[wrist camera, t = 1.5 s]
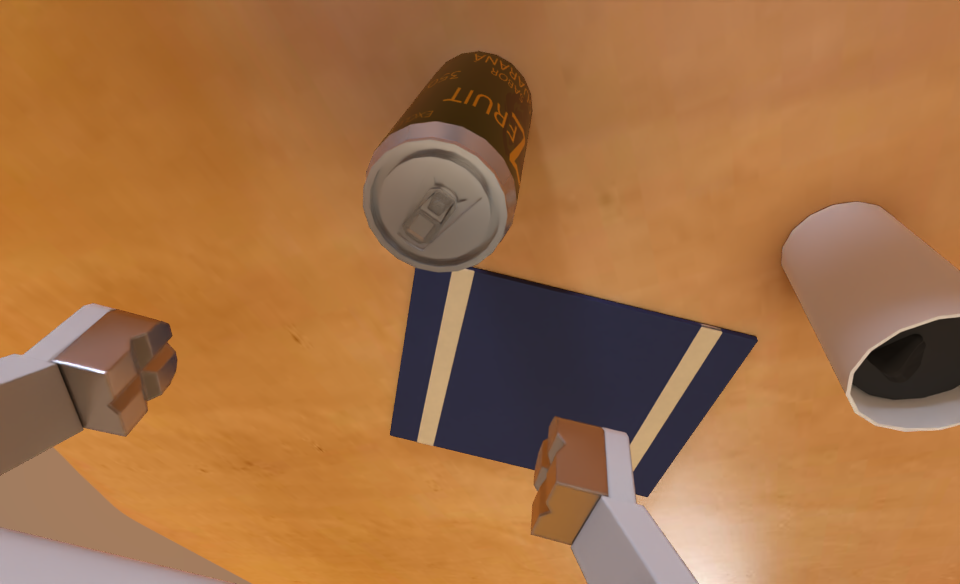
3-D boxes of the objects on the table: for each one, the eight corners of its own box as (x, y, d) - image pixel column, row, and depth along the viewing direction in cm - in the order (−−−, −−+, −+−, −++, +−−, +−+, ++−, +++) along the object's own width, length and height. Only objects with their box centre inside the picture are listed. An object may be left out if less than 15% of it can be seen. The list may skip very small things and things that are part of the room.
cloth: (390, 431, 44) (389, 435, 44) (418, 253, 33) (416, 257, 33) (646, 493, 44) (647, 497, 44) (756, 336, 34) (758, 340, 33)
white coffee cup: (811, 315, 32) (892, 451, 24) (747, 247, 30) (813, 370, 22) (932, 251, 29) (1073, 384, 21) (870, 168, 27) (1000, 280, 19)
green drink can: (491, 173, 29) (454, 302, 20) (410, 112, 28) (329, 219, 18) (555, 95, 27) (548, 202, 17) (468, 23, 25) (408, 95, 16)
